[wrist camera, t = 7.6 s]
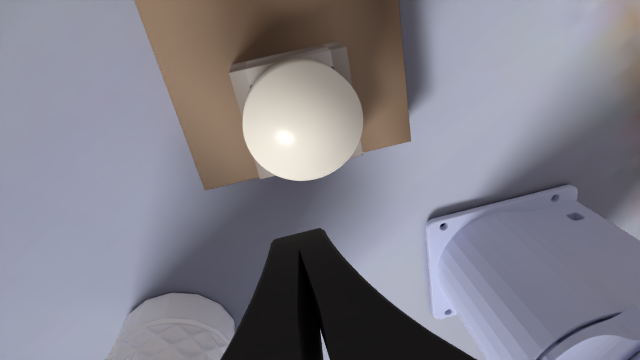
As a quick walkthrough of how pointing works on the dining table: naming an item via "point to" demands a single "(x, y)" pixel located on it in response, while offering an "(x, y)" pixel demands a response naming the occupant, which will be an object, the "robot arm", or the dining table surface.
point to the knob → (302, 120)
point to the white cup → (174, 330)
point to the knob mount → (260, 54)
